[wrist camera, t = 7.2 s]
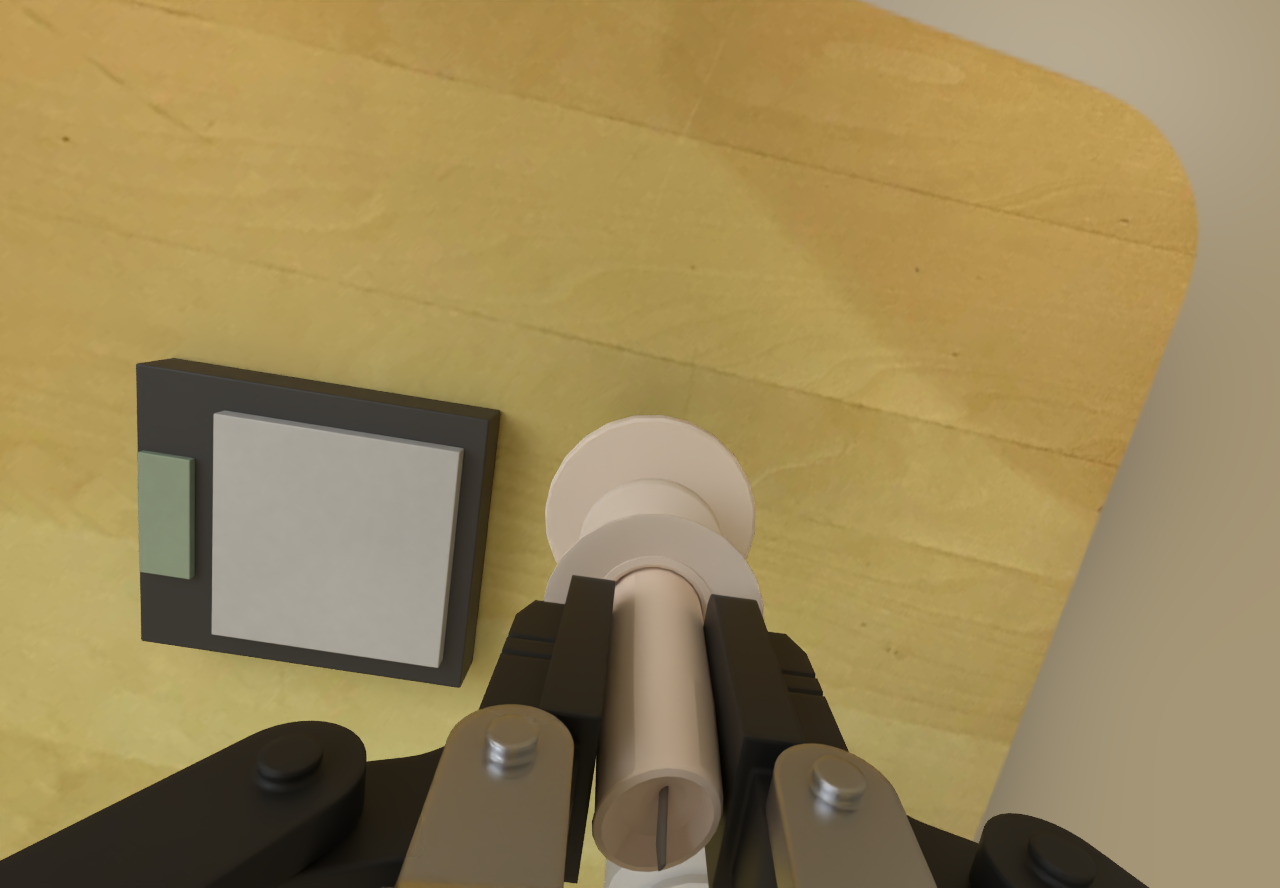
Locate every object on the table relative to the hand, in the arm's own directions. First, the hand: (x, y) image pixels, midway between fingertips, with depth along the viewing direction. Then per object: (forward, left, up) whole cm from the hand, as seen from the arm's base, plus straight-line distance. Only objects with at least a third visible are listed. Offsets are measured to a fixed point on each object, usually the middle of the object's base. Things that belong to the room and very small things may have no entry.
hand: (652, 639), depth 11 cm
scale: (-15, -8, -22) cm, 28 cm away
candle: (0, 0, -6) cm, 6 cm away
